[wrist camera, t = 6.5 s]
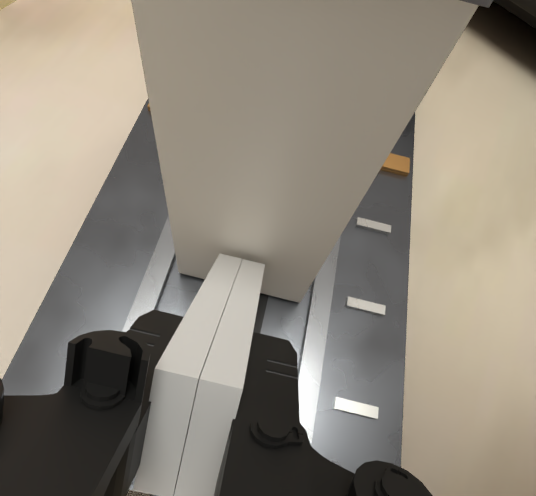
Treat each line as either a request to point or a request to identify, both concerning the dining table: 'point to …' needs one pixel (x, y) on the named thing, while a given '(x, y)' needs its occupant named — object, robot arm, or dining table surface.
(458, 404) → the dining table surface
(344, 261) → the console
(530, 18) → the radio receiver
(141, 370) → the robot arm
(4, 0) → the milk carton
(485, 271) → the dining table surface
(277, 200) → the fader tab
